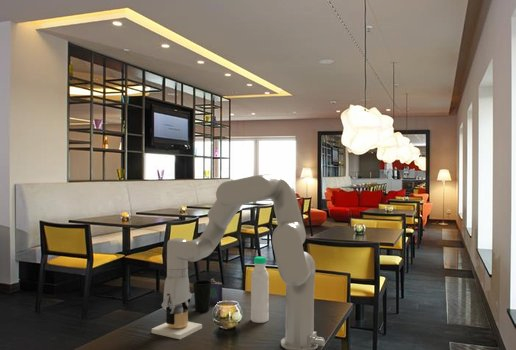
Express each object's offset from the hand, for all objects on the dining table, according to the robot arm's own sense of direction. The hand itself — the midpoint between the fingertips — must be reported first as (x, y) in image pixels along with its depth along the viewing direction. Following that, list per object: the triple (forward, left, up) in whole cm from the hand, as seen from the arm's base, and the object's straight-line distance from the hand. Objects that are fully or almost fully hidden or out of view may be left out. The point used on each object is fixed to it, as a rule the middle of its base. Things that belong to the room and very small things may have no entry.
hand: (177, 320), depth 169 cm
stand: (0, 0, -4) cm, 4 cm away
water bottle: (-21, -25, -4) cm, 33 cm away
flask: (+9, -36, -4) cm, 37 cm away
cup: (+6, -24, -4) cm, 25 cm away
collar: (0, 0, -2) cm, 2 cm away
